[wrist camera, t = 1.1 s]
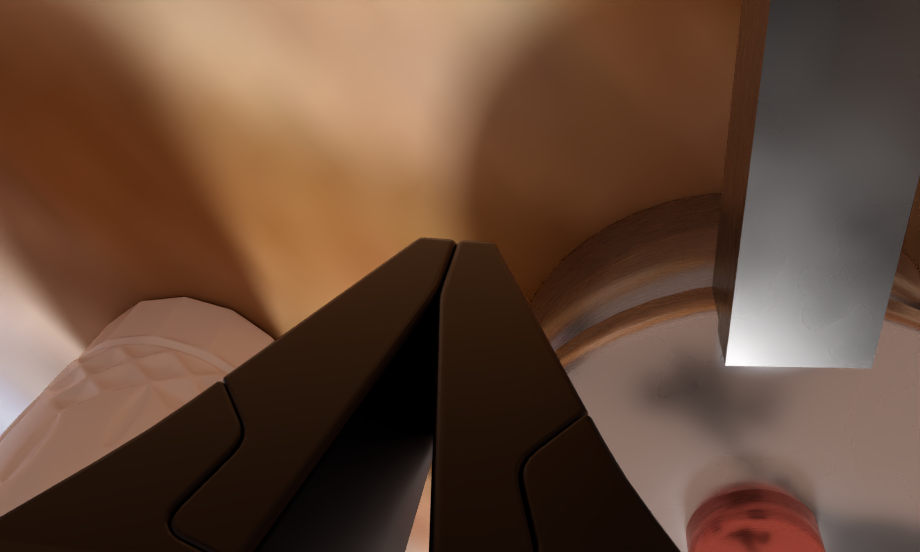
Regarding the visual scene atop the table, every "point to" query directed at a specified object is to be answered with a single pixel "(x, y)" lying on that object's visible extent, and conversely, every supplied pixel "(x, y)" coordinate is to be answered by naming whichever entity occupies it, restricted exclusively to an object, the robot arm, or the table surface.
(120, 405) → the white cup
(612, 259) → the pot
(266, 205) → the table surface
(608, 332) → the lid
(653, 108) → the table surface
